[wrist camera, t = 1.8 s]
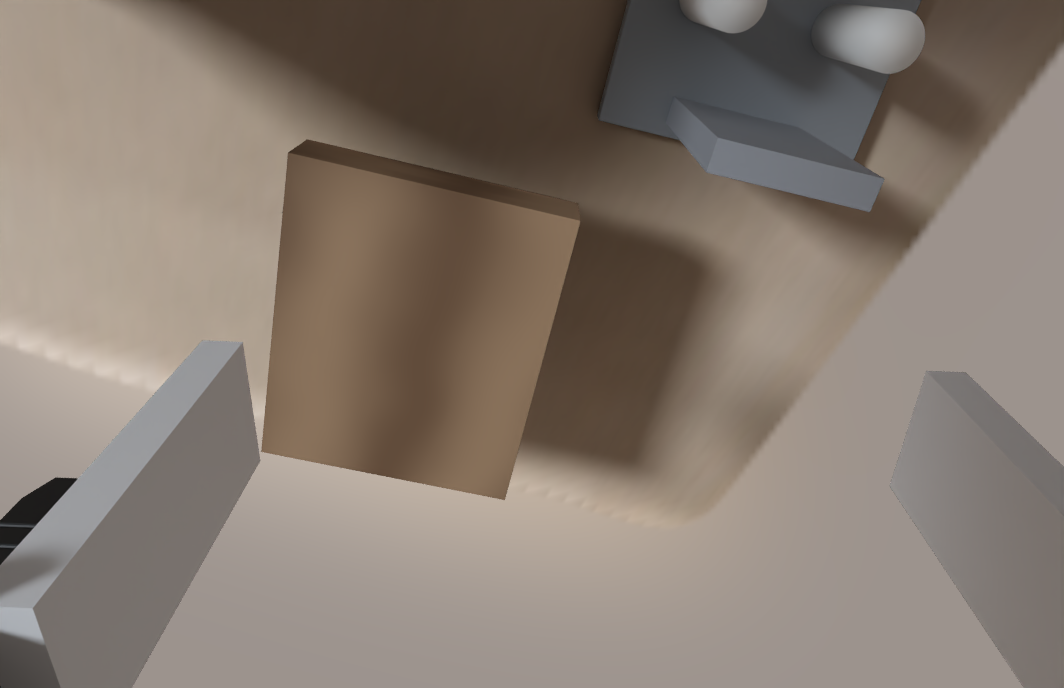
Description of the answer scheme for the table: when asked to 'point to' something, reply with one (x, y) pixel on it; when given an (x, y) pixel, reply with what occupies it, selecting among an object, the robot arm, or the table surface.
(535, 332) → the board
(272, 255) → the table surface
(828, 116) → the cradle
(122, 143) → the table surface
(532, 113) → the table surface
